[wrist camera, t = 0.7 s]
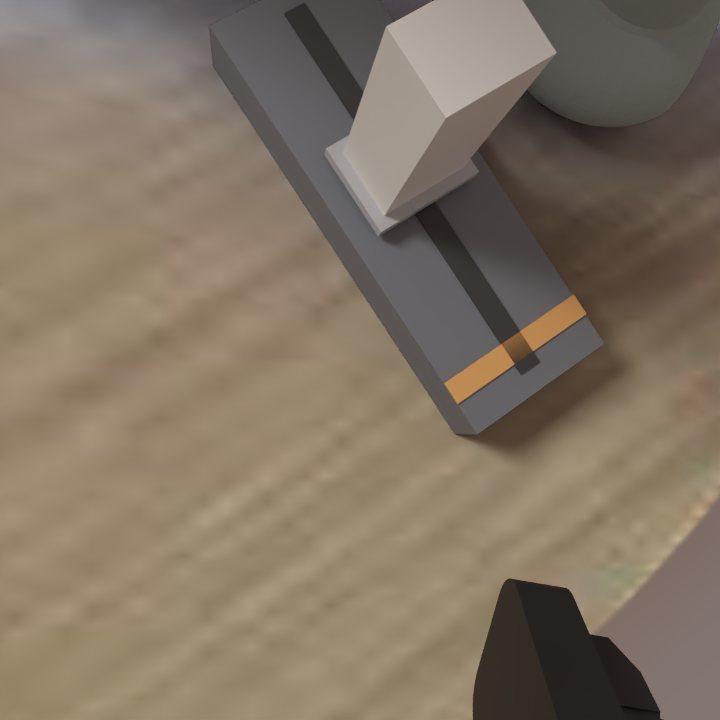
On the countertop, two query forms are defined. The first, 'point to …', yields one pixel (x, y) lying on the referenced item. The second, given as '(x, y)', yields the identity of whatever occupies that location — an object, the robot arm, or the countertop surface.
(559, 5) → the air freshener
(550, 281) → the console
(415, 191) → the fader tab
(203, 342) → the countertop surface
